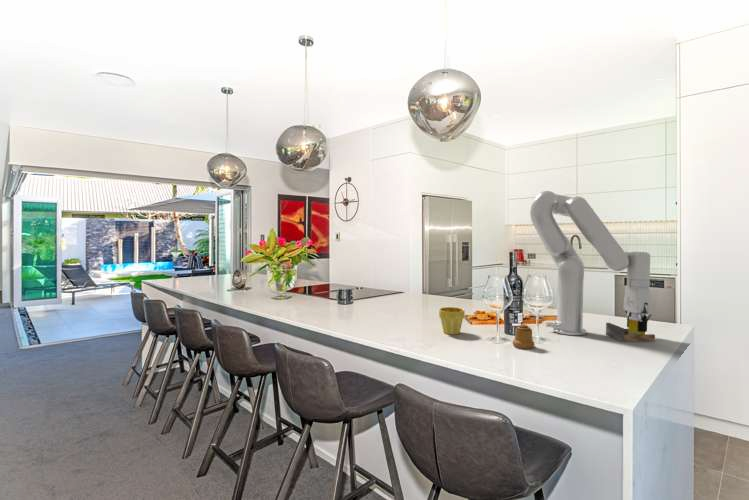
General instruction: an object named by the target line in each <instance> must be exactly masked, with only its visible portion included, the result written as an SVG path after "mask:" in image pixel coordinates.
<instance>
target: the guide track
mask: <svg viewBox="0 0 749 500" xmlns="http://www.w3.org/2000/svg"><path fill="white" fill-rule="evenodd" d="M605 336H607V337H609V338H612V339H613V340H615V341H618V342H622V343H623V342H626V343H627V342H629V343H630V341H645V342H655V341H656V335H655V334H652V333H649V334H646V333H645V334H633V335H628V328H624V327H622V326H618V325H616V324H614V323H611V322H605Z"/></svg>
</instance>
